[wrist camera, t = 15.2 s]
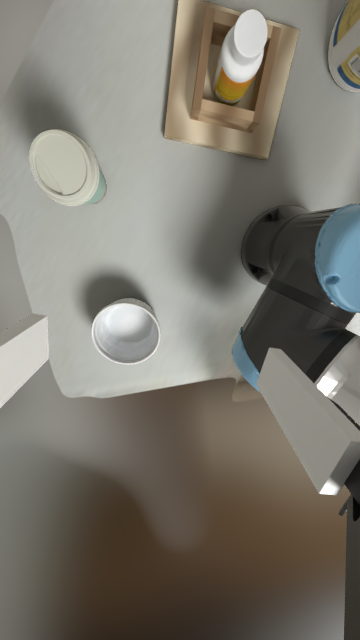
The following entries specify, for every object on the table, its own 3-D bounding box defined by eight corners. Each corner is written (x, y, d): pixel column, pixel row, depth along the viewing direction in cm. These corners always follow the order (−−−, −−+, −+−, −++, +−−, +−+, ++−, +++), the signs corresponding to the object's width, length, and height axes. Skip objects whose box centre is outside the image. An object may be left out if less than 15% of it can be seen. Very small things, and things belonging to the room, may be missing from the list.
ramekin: (145, 357, 52) (143, 374, 46) (91, 334, 49) (80, 350, 43) (171, 309, 48) (172, 321, 42) (113, 282, 45) (105, 290, 39)
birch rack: (295, 36, 34) (314, 6, 29) (265, 159, 39) (277, 150, 35) (178, 2, 32) (180, -36, 27) (164, 138, 37) (164, 125, 33)
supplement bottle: (247, 103, 35) (275, 58, 26) (214, 112, 35) (231, 70, 26) (243, 58, 33) (272, -7, 24) (208, 67, 33) (224, 6, 24)
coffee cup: (61, 153, 37) (17, 119, 26) (113, 158, 38) (92, 127, 27) (67, 210, 40) (30, 201, 29) (115, 214, 41) (97, 206, 30)
